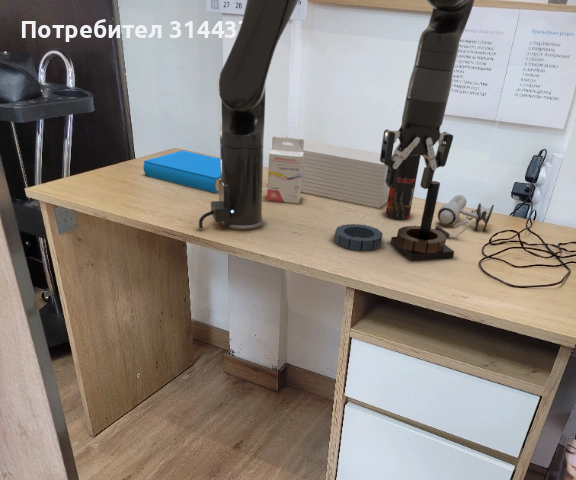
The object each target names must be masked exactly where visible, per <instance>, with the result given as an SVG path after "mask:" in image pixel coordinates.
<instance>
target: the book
mask: <svg viewBox="0 0 576 480" xmlns="http://www.w3.org/2000/svg"><path fill="white" fill-rule="evenodd" d="M143 173H144V175H145V176H146V177H150V178H154V179H158V180H163V181H166V182H171V183H175V184H179V185H183V186H186V187H190V188H194V189H199V190H202V191H206V192H211V193H215V194H217V193H218V194H219V178H221V158H219V157H215V156H210V155H206V154H200V153H195V152H193V151H192V152H191V151H188V150H178V151H175V152H172V153H168V154H167V153H166V154H163V155H160V156H156V157H153V158H150V159H145V160H143Z"/></svg>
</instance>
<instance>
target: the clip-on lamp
mask: <svg viewBox="0 0 576 480" xmlns="http://www.w3.org/2000/svg"><path fill="white" fill-rule="evenodd" d="M467 203H468V202H467V198H466V196H465V195H462V194H457V195H455V196H453V197H452V199H450V200H449V202H448V203H445V204H442V205H441V206H440V208H439V209H438V211H437V219H438V222H439V223H440V224H441V225H443V226H446V227H447V226H452V225H453V227H455V228H456V227H458V226H461V225H464V224H467V225H466V227H465V228H464V229H463V230H462V231H460V232H459V233H458V234H456V235H454V236H452V235H451V233H450V232H448V231H446V230H445V229H443V228H442V227H441V226H439V225H431V227H432V228H434V229H436V230H439V231H441V232H442V233H444V234H445V235H446V239H448V238H450V239H451V238H452V239H454V238H456V237H459V236H460V235H462V233H464V232H465V231H466V230H467V229H468V228H469V226H470V224H471V222H470V221H471V220H473V219H475V227H474V231H475V232H476V231H477V230H478V227H479V223H480V222H481V221H483V223H484V226H483V230H482V232H486V228H487V225H488V224H489V221H490V218H491V216H492V213H493V210H494V207H495V205H494V204H492V205H491V206H490V207H487V208H485V207H484V205H482V204H481V203H478V206H477V208H476V209H472V210H471V211H468V210H464V209H465V207H467V206H466V205H467ZM460 214H462V215H463V216H465V218H464V220H463V221H461V222H458V221H459V218H460Z"/></svg>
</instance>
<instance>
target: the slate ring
mask: <svg viewBox="0 0 576 480" xmlns="http://www.w3.org/2000/svg"><path fill="white" fill-rule="evenodd" d="M383 235H384V234H383V232H382V231H381V230H379V229H378V228H376V227H374V226H371V225H367V224H361V223H357V224H356V223H349V224H342V225H339V226H337V227H336V229H335V232H334V238H333V239H334V242H335V243H336V244H337V245H338V247H342V248H345V249H347V250H348V249H349V250H352V251H360V252H366V251H374V250H376V249H379V248H380V247H381V246H382V241H383Z"/></svg>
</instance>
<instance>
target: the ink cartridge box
mask: <svg viewBox="0 0 576 480" xmlns="http://www.w3.org/2000/svg"><path fill="white" fill-rule="evenodd" d="M304 140H305V139H303V138H294V137H285V136H284V137H283V136H272V138H271V149H270V151H269V153H268V166H267V167H268V168H267V169H268V170H267V171H268V172H267V191H266V193H267V194H266V200H267V201H268V202H269V201H270V202H281V203H288V204H289V203H290V204H291V203H292V204H300V200H301V195H302V192H301V185H302V171H303V159H304V152H303V147H304ZM287 141H288V142H290V143H293V144H294V145H293V146H290V145H283V144H282V143H283V142H287Z"/></svg>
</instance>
